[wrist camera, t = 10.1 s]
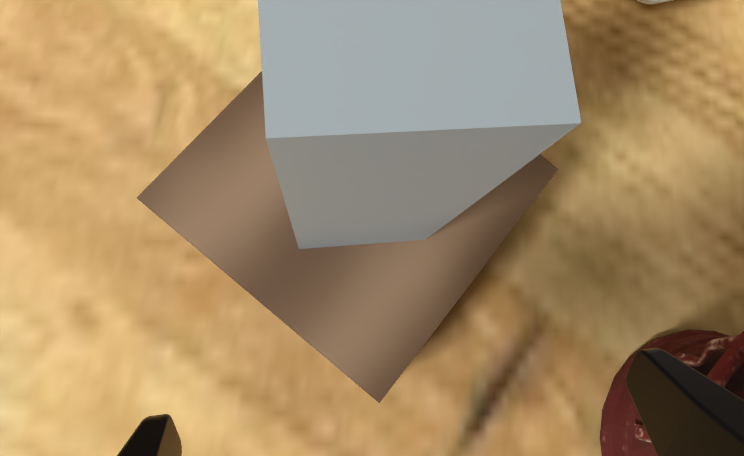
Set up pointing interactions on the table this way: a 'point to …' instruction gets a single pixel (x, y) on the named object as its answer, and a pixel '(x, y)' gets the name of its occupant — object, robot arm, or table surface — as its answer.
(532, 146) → the slate pillar
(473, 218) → the walnut block
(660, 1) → the salad plate
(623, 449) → the lantern
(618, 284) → the table surface
